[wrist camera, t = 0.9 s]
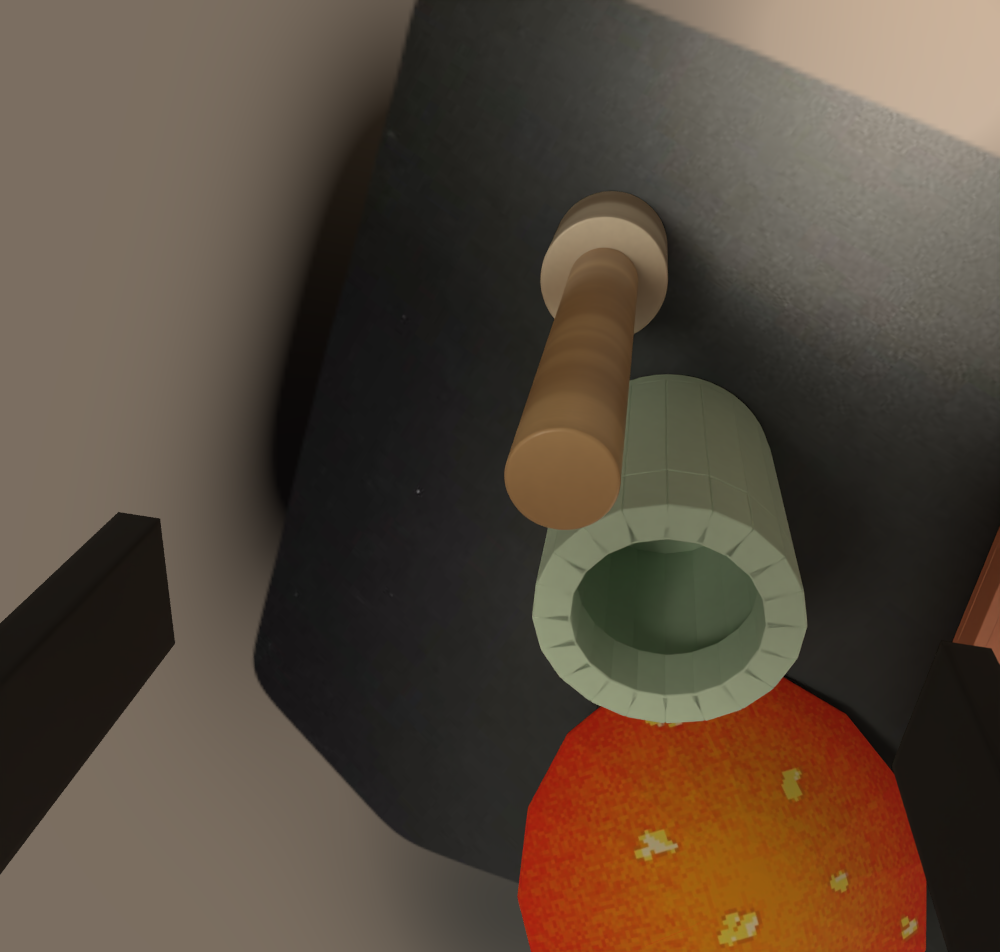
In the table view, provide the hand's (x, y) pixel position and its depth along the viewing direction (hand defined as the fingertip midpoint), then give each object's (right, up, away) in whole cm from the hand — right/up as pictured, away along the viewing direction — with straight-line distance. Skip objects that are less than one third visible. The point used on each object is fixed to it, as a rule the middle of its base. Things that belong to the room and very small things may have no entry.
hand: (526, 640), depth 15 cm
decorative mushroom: (+12, -13, +36) cm, 40 cm away
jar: (+7, +3, +27) cm, 28 cm away
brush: (+4, +12, +23) cm, 26 cm away
